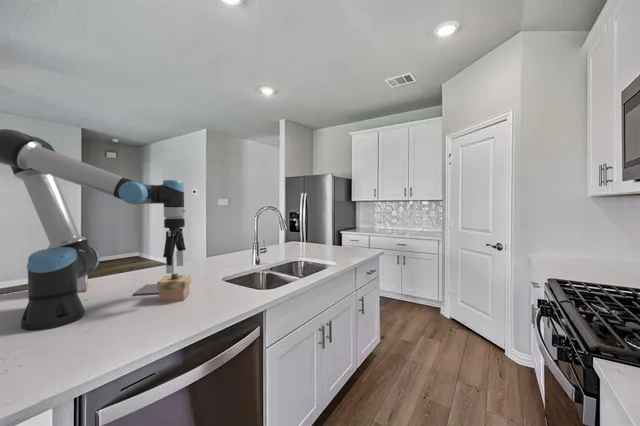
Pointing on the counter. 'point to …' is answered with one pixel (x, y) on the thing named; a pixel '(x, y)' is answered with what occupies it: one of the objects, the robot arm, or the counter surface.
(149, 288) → the plate
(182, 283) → the lid
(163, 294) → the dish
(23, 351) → the counter surface
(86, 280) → the cracker box
